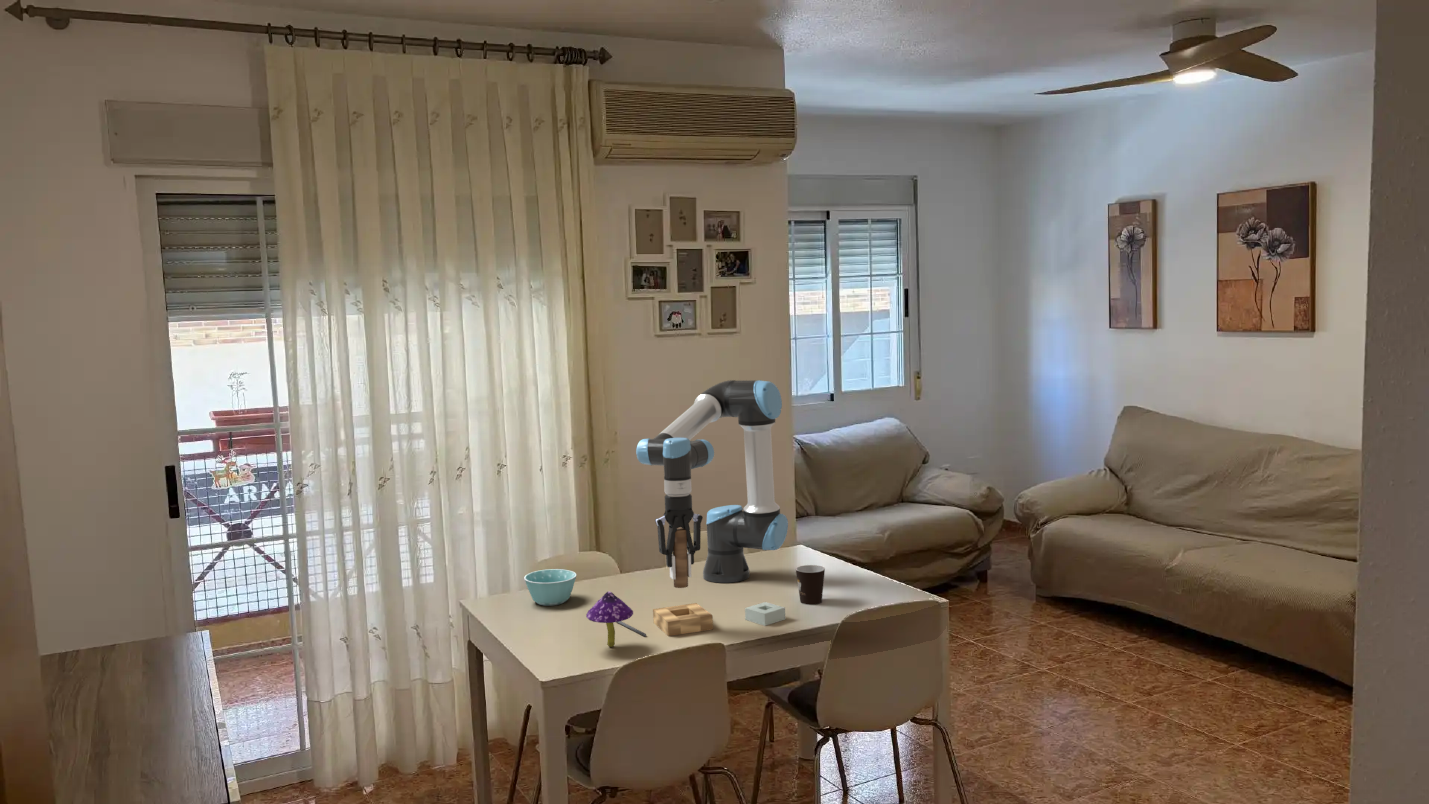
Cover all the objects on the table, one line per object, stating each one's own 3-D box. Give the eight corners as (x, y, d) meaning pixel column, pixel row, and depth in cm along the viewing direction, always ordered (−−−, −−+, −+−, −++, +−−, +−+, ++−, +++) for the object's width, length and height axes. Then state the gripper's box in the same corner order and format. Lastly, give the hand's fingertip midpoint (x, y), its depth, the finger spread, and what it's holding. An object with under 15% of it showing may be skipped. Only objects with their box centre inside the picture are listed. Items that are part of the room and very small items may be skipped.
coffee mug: (824, 606, 313) (823, 572, 312) (794, 605, 315) (793, 572, 314) (827, 595, 324) (827, 562, 323) (799, 594, 326) (798, 562, 325)
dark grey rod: (615, 622, 304) (615, 619, 304) (617, 621, 305) (617, 618, 304) (644, 637, 290) (644, 634, 290) (646, 636, 291) (646, 633, 290)
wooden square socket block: (653, 622, 302) (653, 609, 302) (696, 616, 307) (696, 602, 307) (668, 636, 290) (667, 621, 290) (712, 629, 295) (712, 615, 294)
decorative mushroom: (579, 652, 279) (576, 596, 278) (600, 637, 291) (598, 583, 289) (622, 656, 275) (619, 600, 273) (642, 641, 287) (640, 586, 285)
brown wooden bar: (671, 585, 298) (670, 528, 297) (685, 583, 300) (683, 527, 298) (676, 588, 295) (674, 531, 293) (690, 586, 296) (688, 530, 294)
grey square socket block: (745, 619, 303) (745, 608, 302) (765, 613, 308) (765, 601, 307) (765, 625, 297) (764, 613, 296) (785, 619, 302) (785, 607, 301)
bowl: (587, 597, 330) (586, 571, 330) (559, 611, 316) (557, 584, 315) (544, 592, 337) (543, 567, 336) (515, 606, 323) (514, 579, 322)
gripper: (653, 499, 288) (655, 584, 290) (711, 493, 294) (714, 576, 297) (644, 494, 295) (647, 577, 297) (702, 489, 301) (704, 570, 303)
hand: (680, 577), depth 297 cm, fingers closed on brown wooden bar, 4 cm apart
